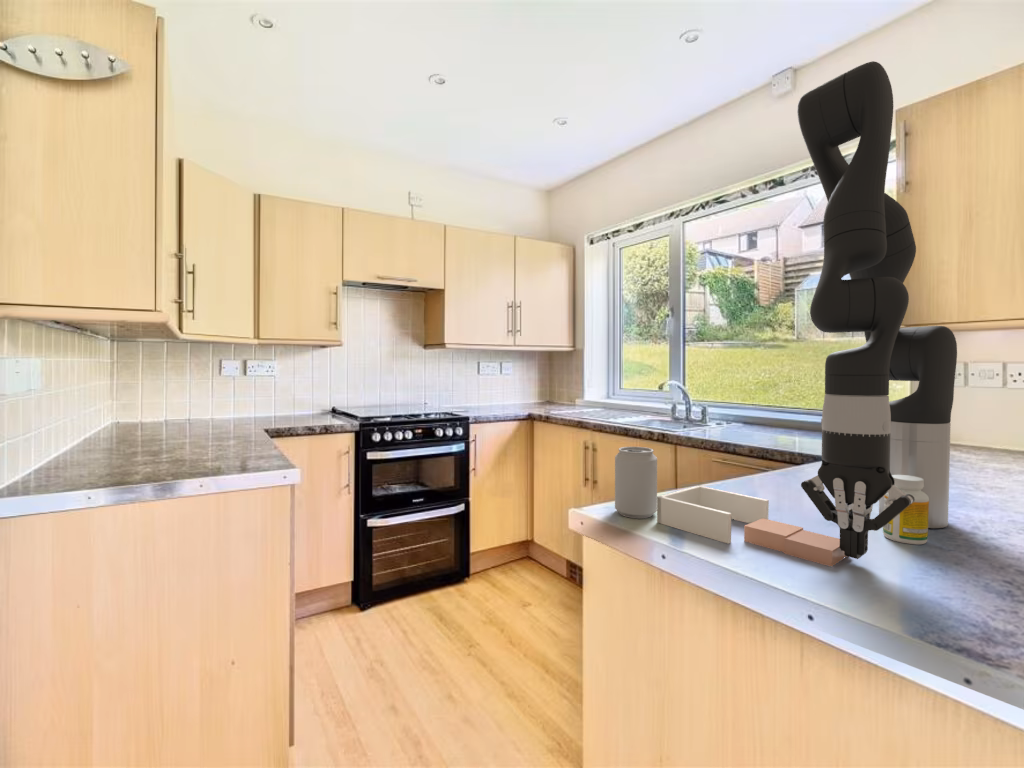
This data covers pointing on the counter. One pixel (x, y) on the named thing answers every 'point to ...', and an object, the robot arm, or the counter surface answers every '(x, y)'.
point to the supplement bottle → (909, 513)
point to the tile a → (769, 533)
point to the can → (636, 482)
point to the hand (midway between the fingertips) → (853, 555)
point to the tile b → (814, 547)
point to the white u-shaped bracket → (709, 511)
